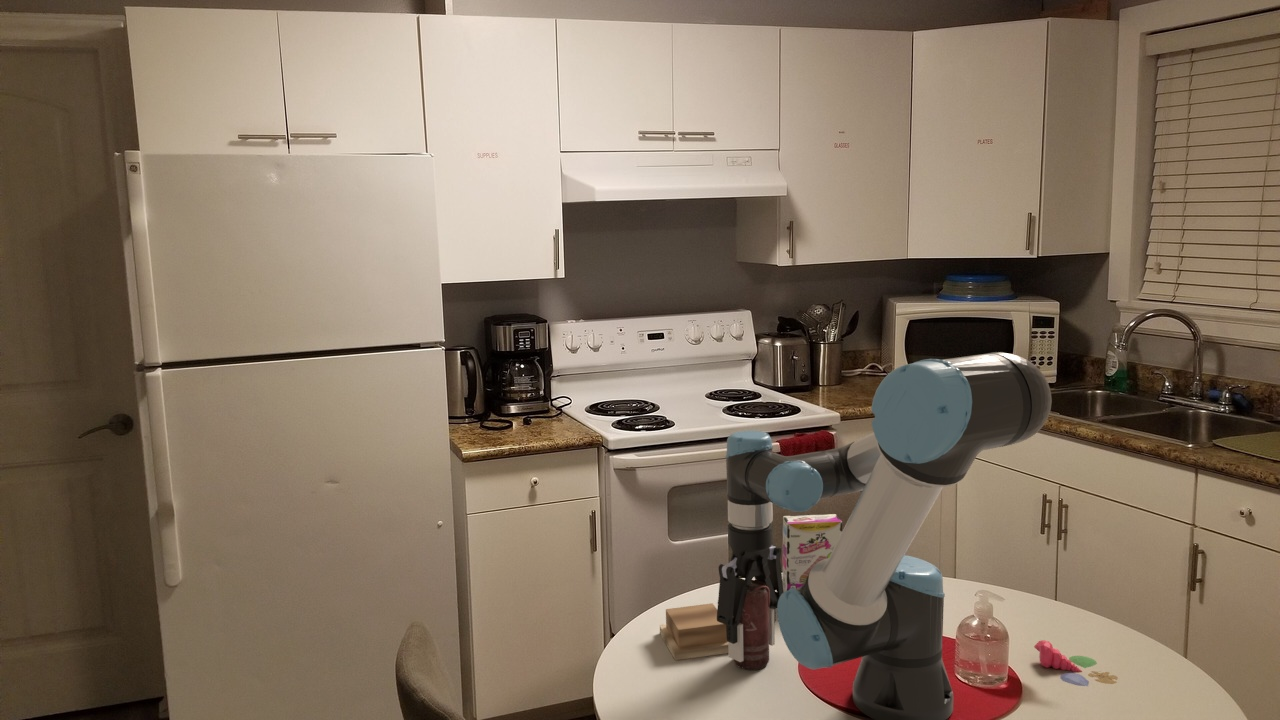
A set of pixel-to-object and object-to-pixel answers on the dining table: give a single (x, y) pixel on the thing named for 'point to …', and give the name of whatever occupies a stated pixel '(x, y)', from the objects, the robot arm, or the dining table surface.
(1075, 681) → the toy pieces
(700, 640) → the stand
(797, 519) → the candy bar box
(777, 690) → the dining table surface
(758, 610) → the can
